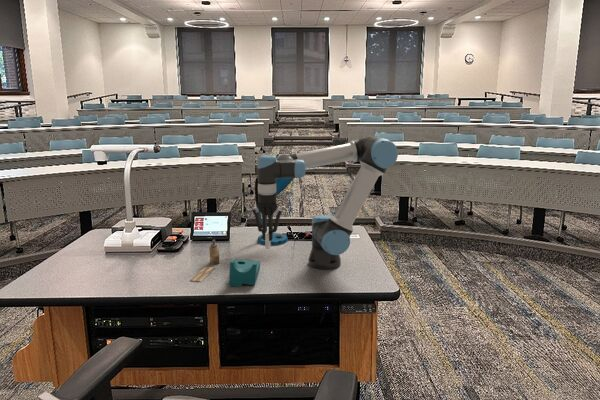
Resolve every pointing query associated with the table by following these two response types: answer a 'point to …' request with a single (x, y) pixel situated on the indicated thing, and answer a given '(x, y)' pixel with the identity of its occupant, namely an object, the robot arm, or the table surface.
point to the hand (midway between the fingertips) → (268, 247)
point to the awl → (214, 253)
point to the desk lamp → (277, 237)
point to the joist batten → (202, 274)
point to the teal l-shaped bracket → (243, 272)
